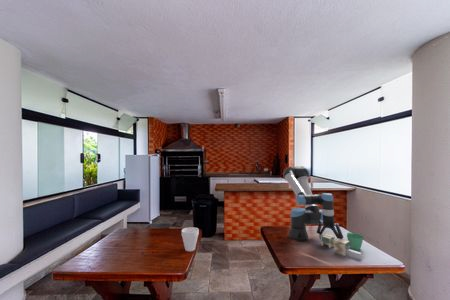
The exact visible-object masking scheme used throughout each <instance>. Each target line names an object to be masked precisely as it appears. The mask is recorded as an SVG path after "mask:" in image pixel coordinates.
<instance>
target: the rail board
mask: <svg viewBox="0 0 450 300" xmlns="http://www.w3.org/2000/svg"><path fill="white" fill-rule="evenodd" d="M333 253H334V254H336V255H340V256H343V257H346V258H348V259H352V260H355V261H357V262H362V261H364V260H365V259H366V257H363V254H362V252H360V251H358V250H354V249H351V248H350V249H348V248H347V249H346V256H344V255H341V254H338V253H336V252H333Z"/></svg>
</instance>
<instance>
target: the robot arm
mask: <svg viewBox="0 0 450 300" xmlns="http://www.w3.org/2000/svg"><path fill="white" fill-rule="evenodd" d="M310 174H311V173H310V170H309V168H308V167H307V166H304V165H303V166H289V167H286V168H285V169H284V171H283V173H282V175H283V179H284V181H285V182H287V183H288V185H289V187H290V188H291V190H292V191H293V193H294V195H295V201H296V204H297V205H299V206H305V207H294V208H292V209H291V211H290V229H289V232H288V237H289V238H290V240H293V241H298V242H305V241H308V240H309V233H308V231H307V225H309V226H310V225H317V230H316V234H318V235H319V236H318V237H319V239H320V240H321V236H322V235H324V234H323V233H324V231H325V230H326V228H327V229H330V230H332V232H333V234H334V235H335V236H336V237H335V238H336V239H338V238H340V239H344V235H343V233H342V230H341V227H340V223H335V216H334V215H335V210H334V197H333V193H329V192H328V193H326V192H324V193H321V194H320V193H316V194H313V193H312V190H311V186H310V183H309V179H310V177H311V175H310ZM319 205H320V206H321V208H320V206H319Z"/></svg>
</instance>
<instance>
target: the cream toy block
mask: <svg viewBox="0 0 450 300" xmlns="http://www.w3.org/2000/svg"><path fill="white" fill-rule="evenodd" d="M347 248H348V249H351V248H350V242H349V241H348V239H347V240H346V239H344V238H343V239H340V238H338V239H337V238H335V240H334V247H333V251H334V252H336V253H335V254H337V253H338V254H337V255H339V254H341V255H340V256H342V255H344V256H343V257H345V256H346V249H347ZM334 252H333V253H334Z"/></svg>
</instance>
